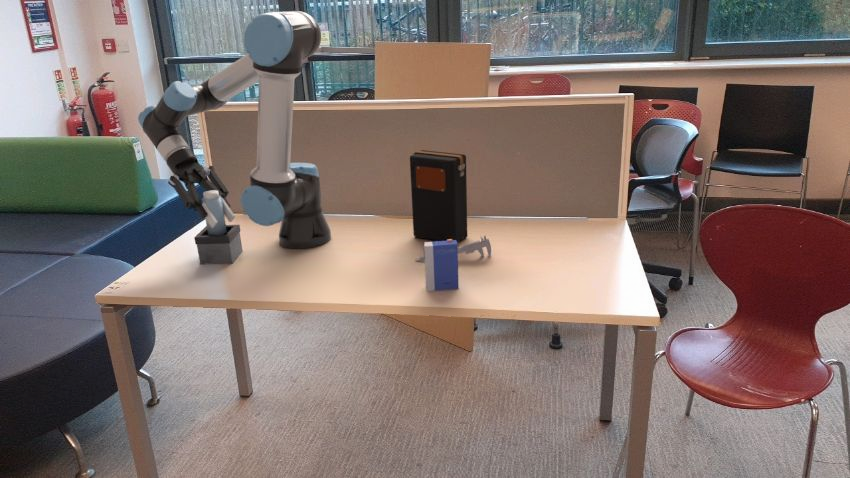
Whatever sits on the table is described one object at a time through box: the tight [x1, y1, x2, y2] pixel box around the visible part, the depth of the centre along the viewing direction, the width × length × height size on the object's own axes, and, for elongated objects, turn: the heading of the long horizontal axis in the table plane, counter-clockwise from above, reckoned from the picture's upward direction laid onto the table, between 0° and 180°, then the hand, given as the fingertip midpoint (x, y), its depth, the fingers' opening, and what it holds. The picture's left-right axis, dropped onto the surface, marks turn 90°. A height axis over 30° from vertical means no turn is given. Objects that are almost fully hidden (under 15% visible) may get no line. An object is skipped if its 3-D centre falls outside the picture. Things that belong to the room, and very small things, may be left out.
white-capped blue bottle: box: [201, 190, 227, 235], centre depth 172 cm, size 5×5×12 cm
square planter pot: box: [193, 224, 243, 265], centre depth 175 cm, size 9×9×8 cm
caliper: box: [414, 235, 492, 263], centre depth 169 cm, size 20×1×6 cm, turn 94°
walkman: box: [423, 239, 459, 292], centre depth 151 cm, size 8×3×12 cm, turn 95°
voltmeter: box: [409, 149, 468, 243], centre depth 180 cm, size 16×9×25 cm, turn 58°
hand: (223, 221), depth 171 cm, fingers closed on white-capped blue bottle, 5 cm apart
